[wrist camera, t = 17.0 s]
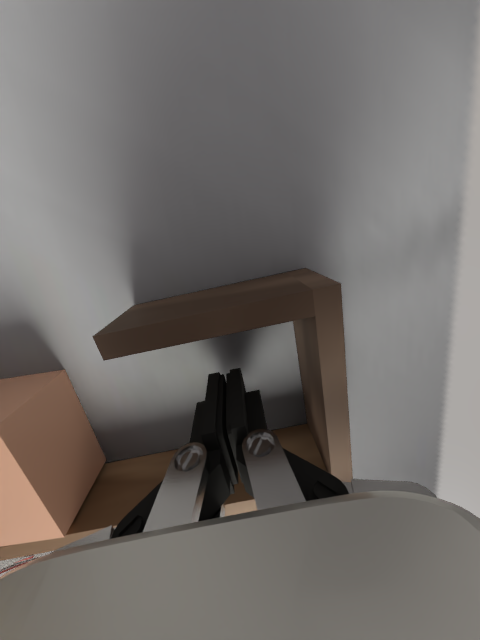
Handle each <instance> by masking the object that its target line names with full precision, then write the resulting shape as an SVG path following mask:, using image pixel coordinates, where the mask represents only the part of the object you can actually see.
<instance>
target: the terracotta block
mask: <svg viewBox="0 0 480 640" xmlns="http://www.w3.org/2000/svg"><path fill="white" fill-rule="evenodd" d="M105 461H106V458H105V456H104V453H103V451H102V449H101V447H100V445H99V442H98V440H97V438H96V436H95V434H94V432H93V429H92V427H91V425H90V423H89V421H88V419H87V416H86V414H85V412H84V410H83V408H82V406H81V403H80V401H79V399H78V397H77V395H76V393H75V390H74V388H73V386H72V384H71V382H70V380H69V377H68V375H67V373H66V371H65V370H58V371H52V372H45V373H38V374H32V375H25V376H18V377H12V378H5V379H0V547H1V546H8V545H15V544H22V543H28V542H35V541H42V540H49V539H56V538H62V537H65V535H66V533H67V532H68V530H69V528H70V526H71V524H72V522H73V520H74V519H75V517H76V515H77V513H78V511H79V509H80V508H81V506H82V504H83V502H84V500H85V498H86V496H87V495H88V493H89V491H90V489H91V487H92V485H93V484H94V482H95V480H96V478H97V476H98V474H99V472H100V471H101V469H102V467H103V465H104V463H105Z"/></svg>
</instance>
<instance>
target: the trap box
mask: <svg viewBox="0 0 480 640" xmlns="http://www.w3.org/2000/svg"><path fill="white" fill-rule="evenodd" d="M289 321H293V324H294V331H295V338H296V345H297V353H298V360H299V367H300V374H301V381H302V389H303V396H304V403H305V410H306V418H307V424H303V425H298V426H293V427H288V428H282V429H277V430H272V432H273V433H275V434H276V436H277V437H278V439H279V442H280V444H281V446H282V448H284V449H286V450H288V451H289V452H291V453H293V454H295V455H297V456H299V457H300V458H302V459H304V460H306V461H308V462H310V463H311V464H313V465H315V466H317V467H319V468H321V469H322V470H324V471H326V472H328V473H330V474H332V475H333V476H335V477H337V478H338V479H339V480H341V481H342V482H351V479H353V477H352V461H351V444H350V427H349V411H348V394H347V377H346V361H345V344H344V327H343V311H342V294H341V283H338V282H336V281H334V280H332V279H329V278H327V277H325V276H323V275H320V274H318V273H316V272H314V271H311V270H309V269H307V268H304V269H299V270H295V271H290V272H285V273H281V274H276V275H271V276H267V277H262V278H258V279H253V280H248V281H244V282H239V283H234V284H230V285H225V286H220V287H216V288H211V289H207V290H202V291H197V292H193V293H188V294H183V295H179V296H174V297H170V298H165V299H160V300H156V301H151V302H146V303H142V304H137V305H134V306H132V307H131V308H130V309H128V310H127V311H126V312H124V313H123V314H122V315H120V316H119V317H118V318H116V319H115V320H114V321H113V322H111V323H110V324H109V325H107V326H106V327H105V328H103V329H102V330H101V331H99V332H98V333H97V334H95V335H94V336H93V338H94V341H95V343H96V345H97V347H98V349H99V351H100V354H101V356H102V358H103V360H109V359H113V358H118V357H123V356H128V355H132V354H137V353H142V352H147V351H151V350H156V349H161V348H166V347H170V346H175V345H180V344H185V343H189V342H194V341H199V340H204V339H208V338H213V337H218V336H223V335H228V334H232V333H237V332H242V331H247V330H251V329H256V328H261V327H266V326H270V325H275V324H280V323H285V322H289ZM177 450H178V449H176V450H171V451H166V452H161V453H156V454H151V455H146V456H141V457H136V458H131V459H126V460H121V461H116V462H111V463H106V464H104V465H103V467H102V469H101V471H100V472H99V474H98V476H97V478H96V480H95V482H94V484H93V485H92V487H91V489H90V491H89V493H88V495H87V496H86V498H85V500H84V502H83V504H82V506H81V508H80V509H79V511H78V513H77V515H76V517H75V519H74V520H73V522H72V524H71V526H70V528H69V530H68V532H67V533H66V535H65V537H62V538H56V539H49V540H42V541H35V542H28V543H22V544H15V545H8V546H1V547H0V561H1V560H7V559H12V558H17V557H22V556H28V555H33V554H38V553H44V552H49V551H54V550H57V549H59V548H61V547H63V546H65V545H68V544H70V543H72V542H75V541H77V540H79V539H81V538H84V537H86V536H88V535H91V534H93V533H95V532H97V531H100V530H102V529H104V528H106V527H109V526H111V525H112V526H113V528H115V527H117V525H118V523H119V522H120V521H121V520H122V519H123V518H124V517H125V516H126V515H127V514H128V513H129V512H130V511H131V510H132V509H133V508H134V507H135V506H136V505H137V504H138V503H139V502H140V501H141V500H142V499H144V498H145V497H146V496H147V495H148V494H149V493H150V492H151V491H152V490H153V489H154V488H155V487H156V486H157V485H158V484H159V483H160V482H161V481H162V480H163V479H164V477H165V474H166V472H167V469H168V467H169V464H170V462H171V459H172V457H173V455H174V454H175V453H176V452H177ZM234 491H235V494H230V496H229V497H228V498H227V499H226V501H225V516H230V515H235V514H241V513H246V512H251V511H257V506H256V502H255V499H254V498H253V497H252V496H251V495H249V494H248V493H247V492H246V491H245V487H244V484H243V483H242V482H241V478H240V475H239V472H238V484H234ZM225 516H224V517H225Z"/></svg>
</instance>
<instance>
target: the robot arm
mask: <svg viewBox="0 0 480 640" xmlns="http://www.w3.org/2000/svg"><path fill="white" fill-rule="evenodd" d="M238 472H239V475H240V478H241V482H242V483H243V484H244V487H245V491H246V492H247V493H248V494H249V495H251V496H252V497H253V498H254V499H255V502H256V506H257V511H251V512H246V513H241V514H235V515H230V516H225V501H226V499H227V498H228V497H229V496H230V494H235V491H234V484H238ZM224 516H225V517H224ZM0 640H480V519H479V518H478V517H476V516H475V515H473V514H472V513H470V512H469V511H467V510H465V509H463V508H462V507H460V506H457V505H455V504H453V503H450V502H447V501H444V500H442V499H438V498H437V497H436V496H435V494H433V493H432V492H431V491H430V490H428V489H427V488H426V487H424V486H422V485H420V484H418V483H413V482H407V481H385V480H363V479H351V482H342V481H341V480H339V479H338V478H337V477H335V476H333V475H332V474H330V473H328V472H326V471H324V470H322V469H321V468H319V467H317V466H315V465H313V464H311V463H310V462H308V461H306V460H304V459H302V458H300V457H299V456H297V455H295V454H293V453H291V452H289V451H288V450H286V449H284V448H282V446H281V444H280V442H279V439H278V437H277V436H276V434H275V433H273V432H272V431H270V430H268V429H267V425H266V420H265V415H264V410H263V405H262V401H261V396H260V391H259V390H256V391H251V392H246V389H245V385H244V381H243V377H242V373H241V369H240V368H237V369H232V370H230V373H227V374H226V380H225V376H224V374H222V375H220V373H219V372H218V373H213V374H209V376H208V383H207V391H206V398H205V401H202V402H198V403H197V405H196V410H195V416H194V421H193V427H192V433H191V438H190V443H188V444H186V445H184V446H182V447H181V448H180V449H178V450H177V452H176V453H175V454H174V455H173V457H172V459H171V462H170V464H169V467H168V469H167V472H166V474H165V477H164V479H163V480H162V481H161V482H160V483H159V484H158V485H157V486H156V487H155V488H154V489H153V490H152V491H151V492H150V493H149V494H148V495H147V496H146V497H145V498H144V499H142V500H141V501H140V502H139V503H138V504H137V505H136V506H135V507H134V508H133V509H132V510H131V511H130V512H129V513H128V514H127V515H126V516H125V517H124V518H123V519H122V520H121V521H120V522H119V523H118V525H117V527H115V528H113V526H112V525H111V526H109V527H106V528H104V529H102V530H100V531H97V532H95V533H93V534H91V535H88V536H86V537H84V538H81V539H79V540H77V541H75V542H72V543H70V544H68V545H65V546H63V547H61V548H59V549H57V550H55V551H53V552H52V553H50V554H48V555H45V556H43V557H40V558H37V559H34V560H32V561H30V562H28V563H26V564H24V565H21V566H19V567H17V568H15V569H13V570H12V571H10V572H8V573H6V574H5V575H3V576H1V577H0Z"/></svg>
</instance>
